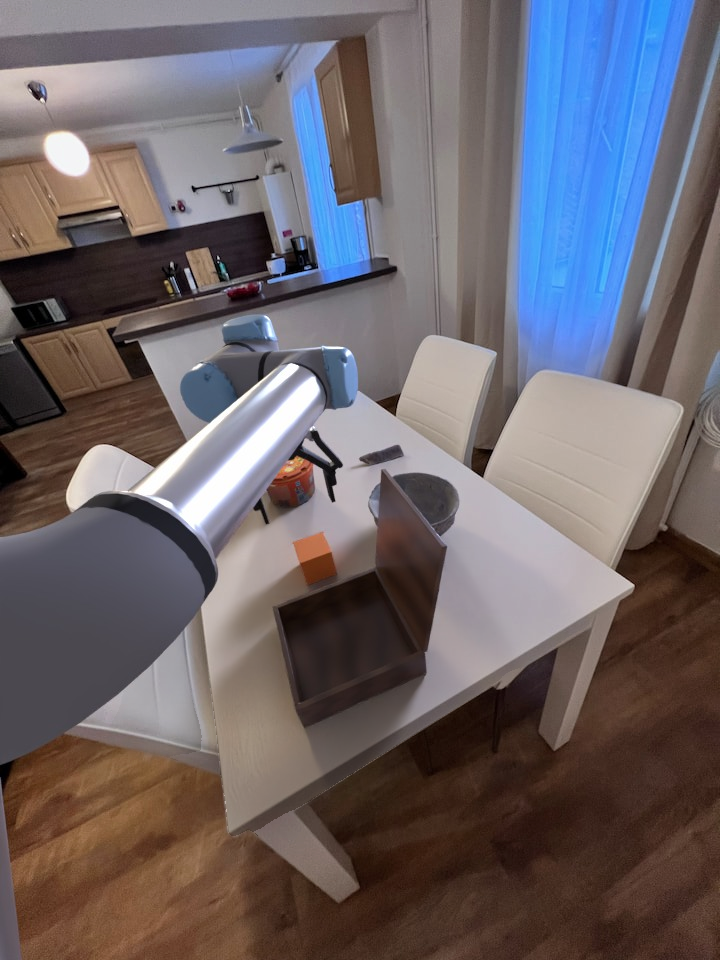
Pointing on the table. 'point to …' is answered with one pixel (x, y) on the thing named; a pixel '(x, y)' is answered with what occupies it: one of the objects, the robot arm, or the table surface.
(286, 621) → the box
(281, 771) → the table surface
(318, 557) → the cube
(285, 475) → the food container
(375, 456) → the artifact
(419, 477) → the bowl
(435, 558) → the lid
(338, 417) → the table surface
